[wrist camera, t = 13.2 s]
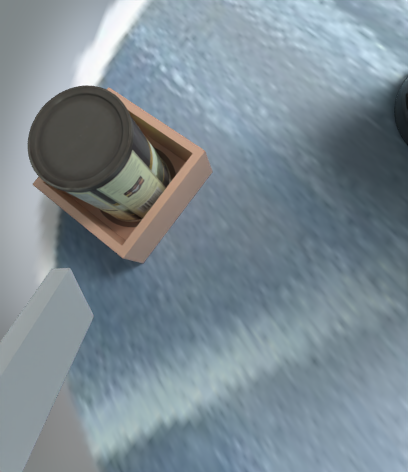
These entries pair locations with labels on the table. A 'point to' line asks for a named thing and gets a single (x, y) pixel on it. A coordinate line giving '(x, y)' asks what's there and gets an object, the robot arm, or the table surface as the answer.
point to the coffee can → (97, 153)
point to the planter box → (164, 209)
